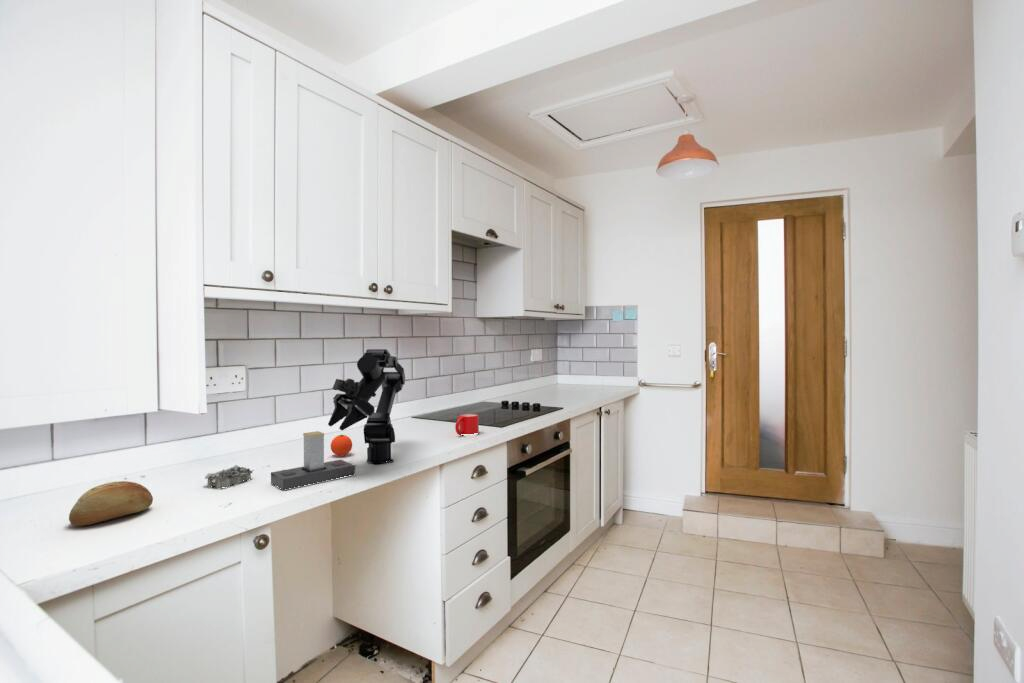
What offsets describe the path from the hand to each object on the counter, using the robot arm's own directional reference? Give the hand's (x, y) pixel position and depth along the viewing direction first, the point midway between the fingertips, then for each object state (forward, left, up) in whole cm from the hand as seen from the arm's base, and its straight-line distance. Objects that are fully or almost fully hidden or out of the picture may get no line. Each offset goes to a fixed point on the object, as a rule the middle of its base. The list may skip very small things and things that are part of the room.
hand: (334, 427), depth 145 cm
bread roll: (+50, +1, -14) cm, 52 cm away
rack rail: (+6, +1, -14) cm, 15 cm away
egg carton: (+25, -11, -14) cm, 31 cm away
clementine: (-11, -21, -14) cm, 27 cm away
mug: (-62, -20, -14) cm, 66 cm away
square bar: (+6, +1, -14) cm, 15 cm away
